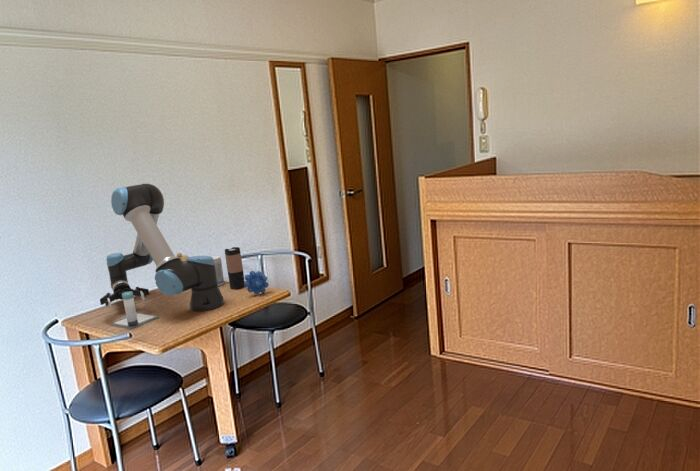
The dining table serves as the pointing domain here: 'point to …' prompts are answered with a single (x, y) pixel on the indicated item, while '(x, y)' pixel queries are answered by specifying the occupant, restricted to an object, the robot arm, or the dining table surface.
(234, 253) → the travel mug
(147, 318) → the light grey flat square
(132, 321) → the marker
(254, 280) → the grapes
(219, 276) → the supplement tub
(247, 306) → the dining table surface
